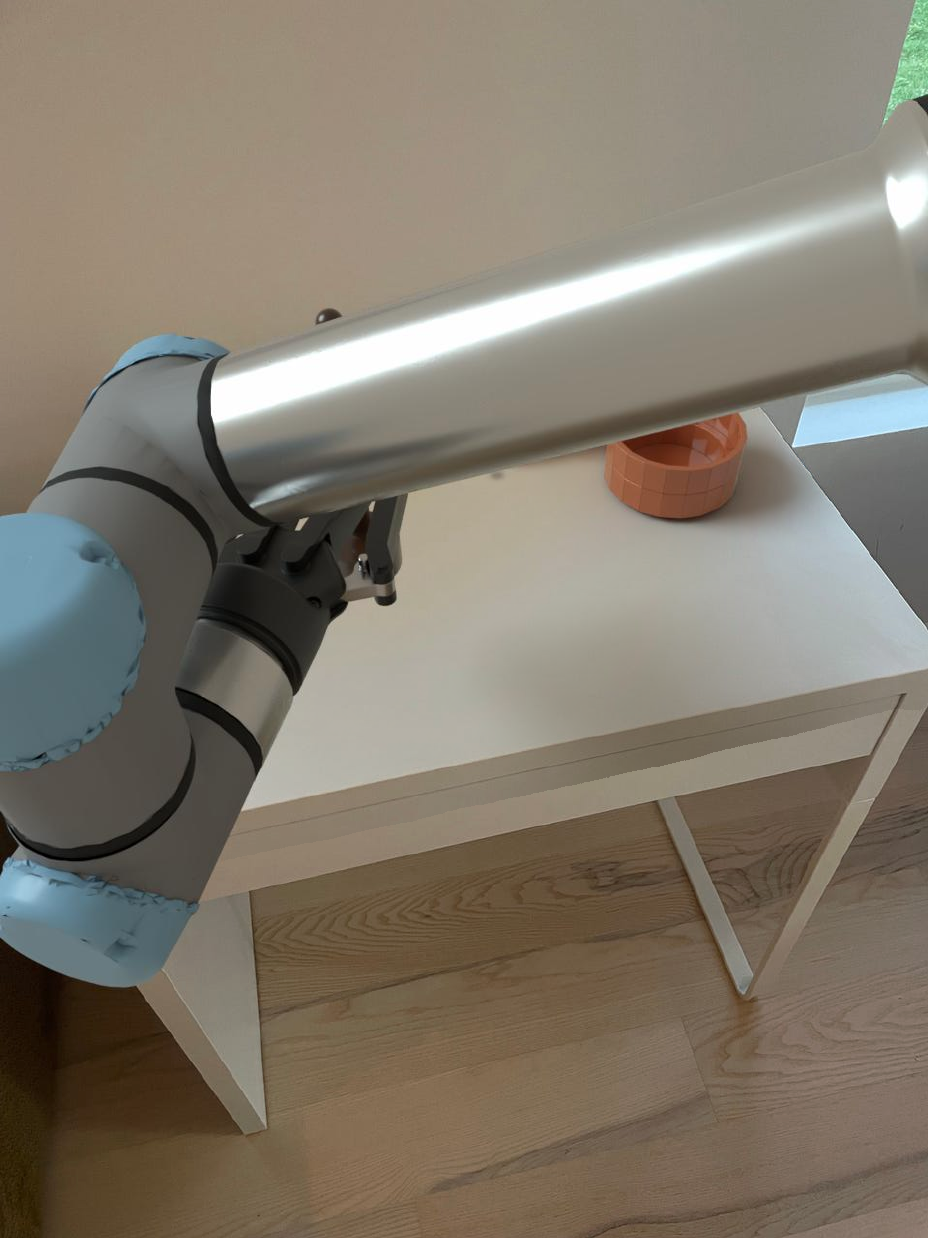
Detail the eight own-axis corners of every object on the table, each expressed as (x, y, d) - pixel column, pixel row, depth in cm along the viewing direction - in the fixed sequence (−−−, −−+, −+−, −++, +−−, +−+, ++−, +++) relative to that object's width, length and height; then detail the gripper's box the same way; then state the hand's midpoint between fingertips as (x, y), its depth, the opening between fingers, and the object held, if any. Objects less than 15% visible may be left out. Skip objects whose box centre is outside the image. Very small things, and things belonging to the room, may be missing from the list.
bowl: (749, 458, 92) (761, 405, 87) (714, 538, 85) (726, 484, 80) (628, 427, 96) (634, 375, 91) (585, 501, 88) (589, 448, 84)
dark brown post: (415, 548, 68) (392, 296, 54) (380, 598, 65) (345, 344, 51) (350, 529, 70) (311, 278, 55) (313, 576, 66) (261, 323, 52)
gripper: (117, 685, 52) (282, 426, 68) (373, 738, 50) (486, 456, 65) (71, 589, 47) (262, 330, 62) (357, 642, 44) (484, 358, 59)
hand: (376, 395), depth 63 cm, fingers closed on dark brown post, 2 cm apart
